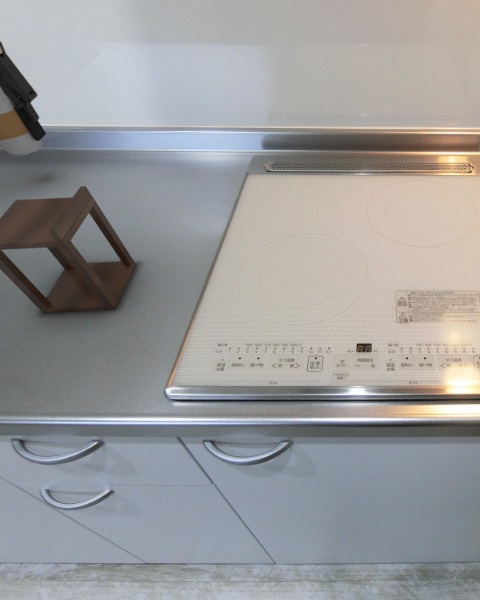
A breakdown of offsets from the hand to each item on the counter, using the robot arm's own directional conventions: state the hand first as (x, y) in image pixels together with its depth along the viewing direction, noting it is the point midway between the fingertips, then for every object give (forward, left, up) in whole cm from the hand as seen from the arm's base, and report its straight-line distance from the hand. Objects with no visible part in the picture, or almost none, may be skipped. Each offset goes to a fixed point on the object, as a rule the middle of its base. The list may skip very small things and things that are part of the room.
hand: (19, 137), depth 85 cm
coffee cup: (0, 0, -2) cm, 2 cm away
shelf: (+22, -33, -9) cm, 41 cm away
